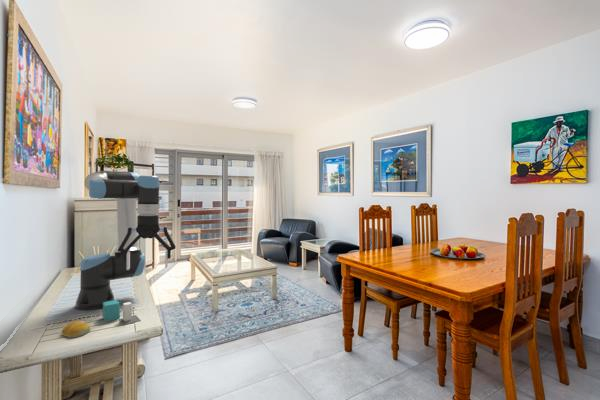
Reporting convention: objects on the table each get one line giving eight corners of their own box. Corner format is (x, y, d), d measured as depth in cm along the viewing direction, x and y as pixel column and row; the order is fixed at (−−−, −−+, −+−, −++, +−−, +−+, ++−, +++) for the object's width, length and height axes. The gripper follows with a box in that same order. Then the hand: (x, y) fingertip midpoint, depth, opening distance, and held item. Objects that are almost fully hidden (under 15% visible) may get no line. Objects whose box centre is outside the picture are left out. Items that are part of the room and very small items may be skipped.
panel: (118, 319, 126) (118, 319, 126) (135, 315, 131) (135, 314, 131) (123, 325, 121) (123, 324, 121) (140, 320, 126) (140, 320, 126)
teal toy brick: (102, 317, 128) (102, 302, 128) (116, 314, 132) (116, 299, 131) (105, 321, 124) (105, 305, 124) (119, 318, 128) (119, 302, 128)
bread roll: (73, 340, 109) (73, 329, 109) (57, 335, 112) (57, 325, 112) (96, 330, 117) (96, 320, 117) (80, 326, 120) (80, 316, 120)
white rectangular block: (122, 319, 126) (122, 303, 126) (129, 317, 128) (129, 301, 128) (124, 321, 124) (124, 305, 124) (131, 319, 126) (131, 303, 126)
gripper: (109, 215, 110) (109, 272, 111) (182, 215, 119) (181, 268, 120) (113, 213, 117) (113, 267, 118) (182, 213, 126) (181, 263, 127)
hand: (147, 267), depth 119 cm, fingers open, 13 cm apart
